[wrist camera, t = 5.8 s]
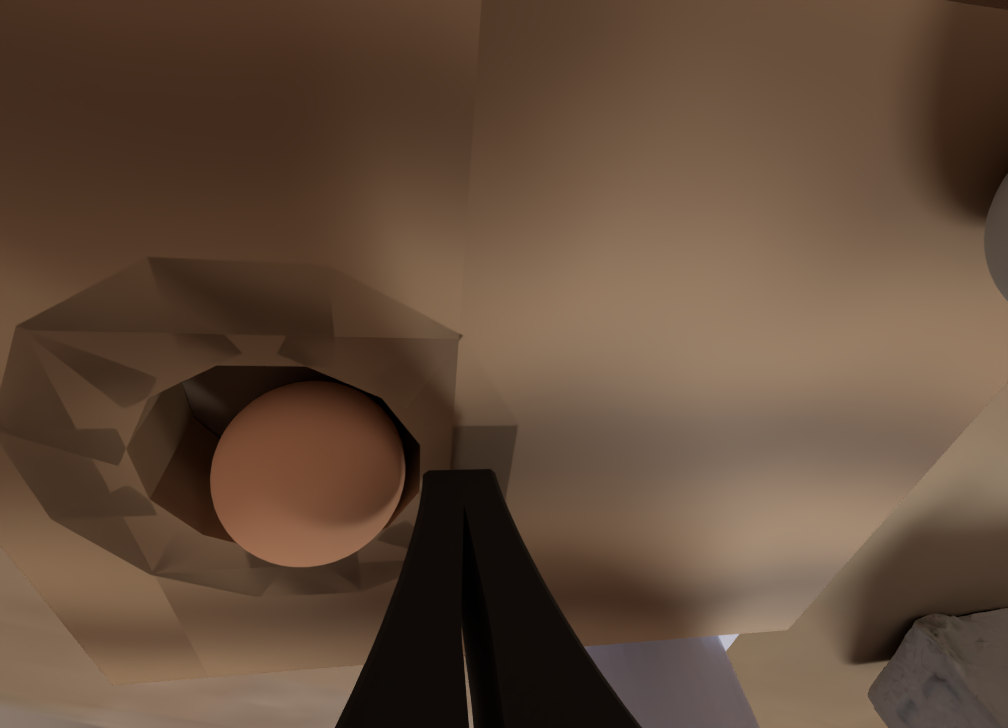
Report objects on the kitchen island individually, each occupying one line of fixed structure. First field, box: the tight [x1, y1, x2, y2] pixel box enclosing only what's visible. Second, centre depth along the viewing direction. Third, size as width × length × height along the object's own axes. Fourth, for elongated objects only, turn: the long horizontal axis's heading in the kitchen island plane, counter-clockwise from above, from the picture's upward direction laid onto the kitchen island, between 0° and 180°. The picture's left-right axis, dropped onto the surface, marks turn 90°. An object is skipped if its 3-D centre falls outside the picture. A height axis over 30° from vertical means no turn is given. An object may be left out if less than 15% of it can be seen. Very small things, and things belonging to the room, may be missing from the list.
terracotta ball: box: [210, 381, 406, 567], centre depth 11 cm, size 4×4×4 cm
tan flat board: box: [0, 0, 1008, 685], centre depth 12 cm, size 18×22×2 cm
